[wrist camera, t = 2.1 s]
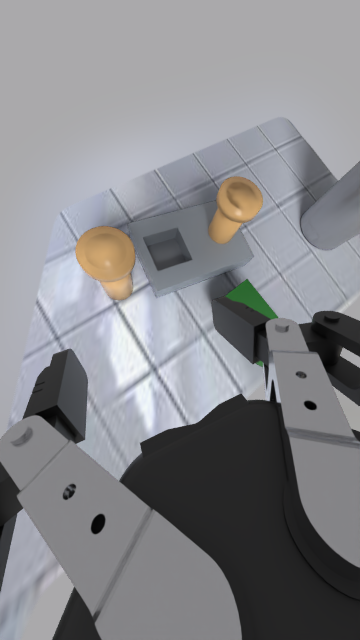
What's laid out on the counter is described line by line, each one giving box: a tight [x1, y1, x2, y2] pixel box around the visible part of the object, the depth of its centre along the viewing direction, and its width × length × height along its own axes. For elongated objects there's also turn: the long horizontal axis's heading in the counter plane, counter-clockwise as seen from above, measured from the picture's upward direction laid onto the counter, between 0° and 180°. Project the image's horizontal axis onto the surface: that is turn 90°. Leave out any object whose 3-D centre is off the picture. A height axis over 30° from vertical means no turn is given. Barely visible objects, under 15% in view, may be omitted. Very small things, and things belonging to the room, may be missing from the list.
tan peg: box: [76, 226, 135, 300], centre depth 24 cm, size 6×6×10 cm
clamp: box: [225, 279, 278, 367], centre depth 28 cm, size 12×6×9 cm, turn 33°
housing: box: [128, 176, 263, 298], centre depth 27 cm, size 16×11×10 cm, turn 115°
